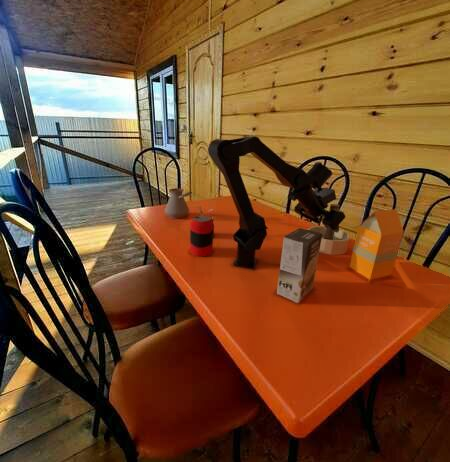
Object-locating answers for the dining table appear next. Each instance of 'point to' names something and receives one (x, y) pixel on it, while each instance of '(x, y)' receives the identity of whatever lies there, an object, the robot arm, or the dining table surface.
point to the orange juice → (377, 244)
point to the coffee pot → (177, 204)
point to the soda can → (201, 236)
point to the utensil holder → (209, 217)
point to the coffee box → (298, 264)
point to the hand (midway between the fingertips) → (327, 226)
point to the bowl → (332, 241)
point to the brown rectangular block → (329, 233)
